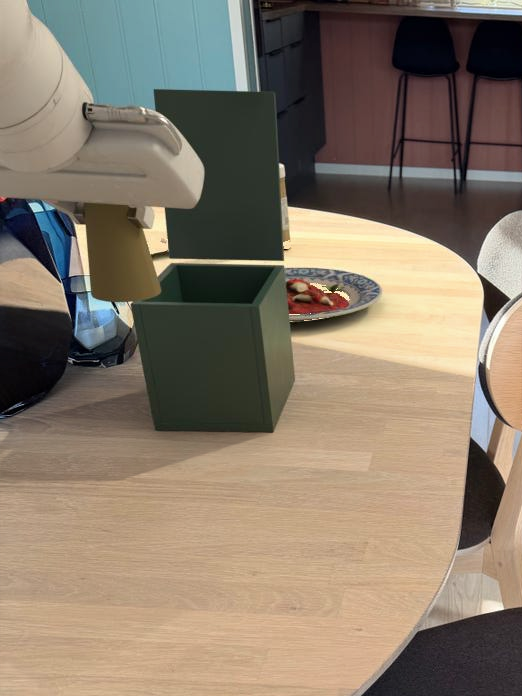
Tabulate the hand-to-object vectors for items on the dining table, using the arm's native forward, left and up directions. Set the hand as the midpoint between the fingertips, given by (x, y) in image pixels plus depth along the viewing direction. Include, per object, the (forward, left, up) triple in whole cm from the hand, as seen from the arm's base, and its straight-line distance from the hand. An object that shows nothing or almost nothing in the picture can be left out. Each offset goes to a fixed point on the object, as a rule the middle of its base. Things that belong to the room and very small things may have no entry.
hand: (116, 219), depth 81 cm
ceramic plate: (+6, +54, -23) cm, 59 cm away
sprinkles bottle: (-2, +88, -23) cm, 91 cm away
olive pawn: (0, -1, -6) cm, 6 cm away
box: (+4, +16, -23) cm, 28 cm away
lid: (+3, +25, -1) cm, 26 cm away
